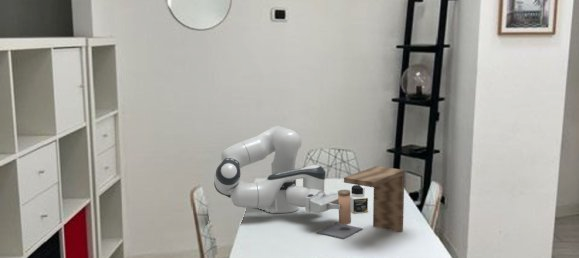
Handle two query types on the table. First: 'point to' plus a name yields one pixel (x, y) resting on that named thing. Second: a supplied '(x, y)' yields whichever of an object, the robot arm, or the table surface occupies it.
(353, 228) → the grey mat
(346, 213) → the terracotta jar
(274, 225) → the table surface
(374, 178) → the walnut stand
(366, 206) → the medicine bottle
